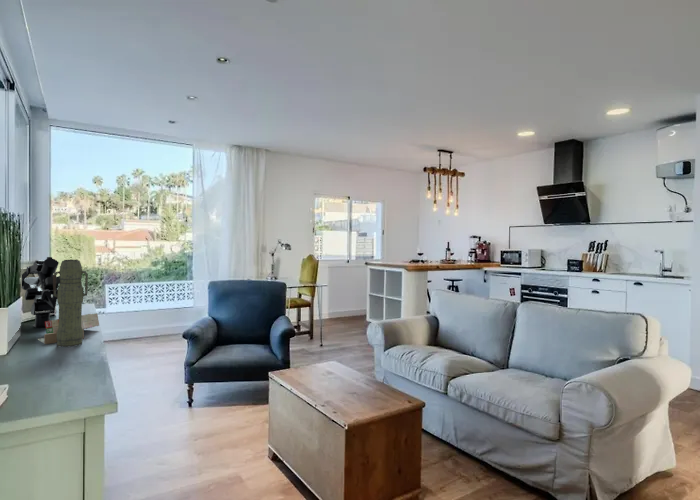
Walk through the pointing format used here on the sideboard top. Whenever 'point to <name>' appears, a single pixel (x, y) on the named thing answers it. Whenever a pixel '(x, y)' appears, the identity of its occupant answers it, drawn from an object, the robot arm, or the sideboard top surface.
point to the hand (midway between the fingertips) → (54, 306)
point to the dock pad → (52, 338)
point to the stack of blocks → (86, 322)
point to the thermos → (70, 303)
